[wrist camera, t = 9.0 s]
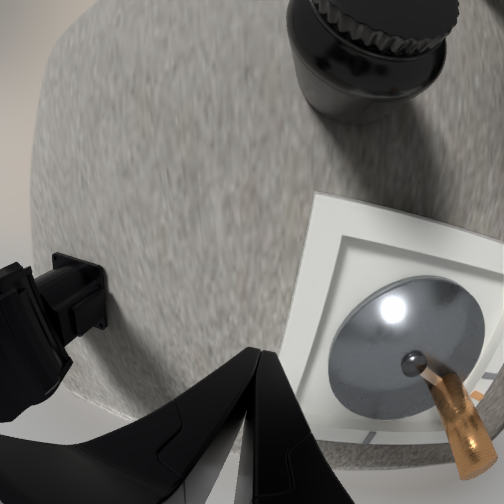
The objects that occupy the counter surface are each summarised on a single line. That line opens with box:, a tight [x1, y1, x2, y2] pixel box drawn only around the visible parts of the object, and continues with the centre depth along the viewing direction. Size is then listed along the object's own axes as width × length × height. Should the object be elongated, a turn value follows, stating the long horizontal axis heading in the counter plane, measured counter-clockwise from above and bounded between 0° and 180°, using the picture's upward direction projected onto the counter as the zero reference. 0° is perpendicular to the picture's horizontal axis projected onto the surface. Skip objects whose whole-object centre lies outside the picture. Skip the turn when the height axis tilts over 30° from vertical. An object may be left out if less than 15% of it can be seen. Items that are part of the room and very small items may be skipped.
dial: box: [328, 275, 498, 480], centre depth 15 cm, size 13×13×10 cm
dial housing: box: [278, 191, 504, 445], centre depth 19 cm, size 20×20×3 cm
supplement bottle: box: [286, 0, 459, 125], centre depth 10 cm, size 7×7×12 cm
